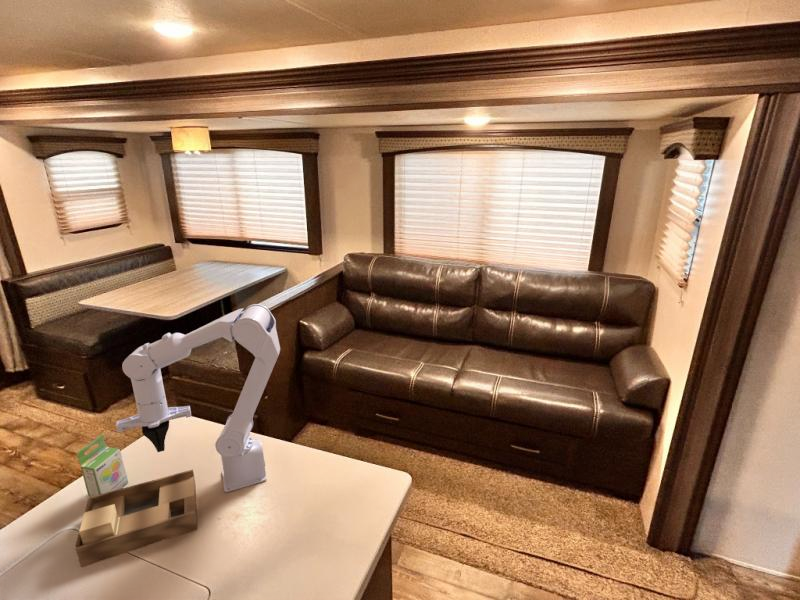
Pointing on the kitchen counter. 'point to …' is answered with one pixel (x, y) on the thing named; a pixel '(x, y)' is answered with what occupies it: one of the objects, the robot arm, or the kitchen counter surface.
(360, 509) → the kitchen counter surface
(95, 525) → the maple block
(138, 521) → the box
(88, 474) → the ink box
